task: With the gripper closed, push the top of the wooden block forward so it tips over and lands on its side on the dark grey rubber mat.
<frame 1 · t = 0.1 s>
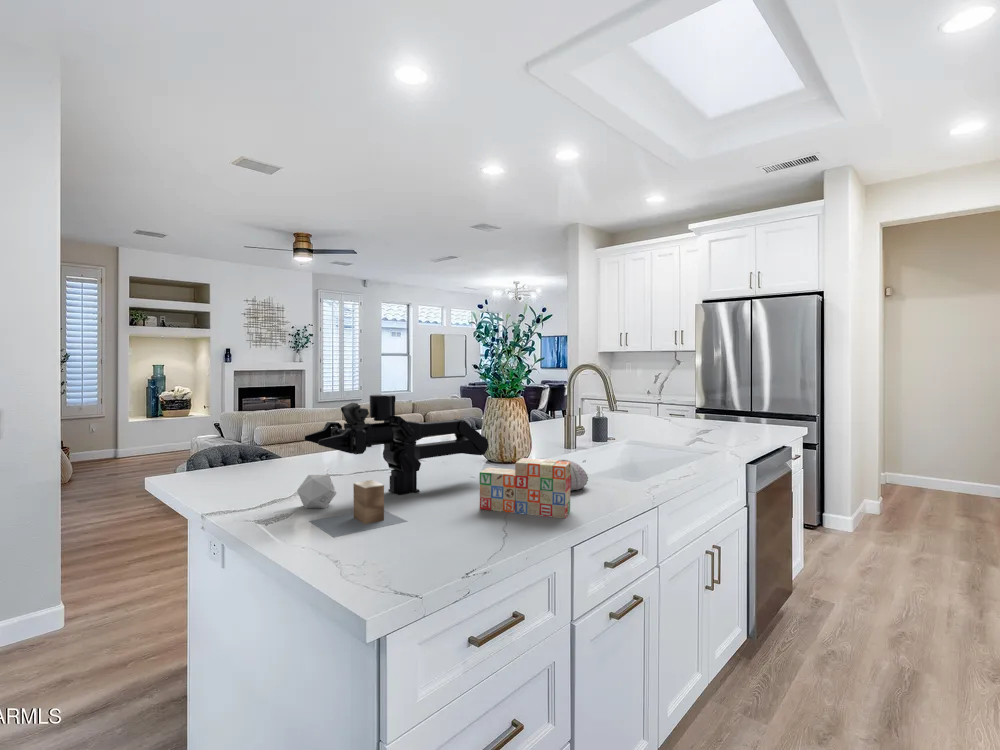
hand: (311, 440, 129), 17 cm above the worktop, tool horizontal, fingers open, 9 cm apart
rubber mat: (358, 522, 118), on the worktop
wooden block: (368, 518, 120), resting on rubber mat
die: (317, 507, 130), on the worktop
stack of blocks: (524, 511, 128), on the worktop
sea urchin shell: (563, 488, 151), on the worktop
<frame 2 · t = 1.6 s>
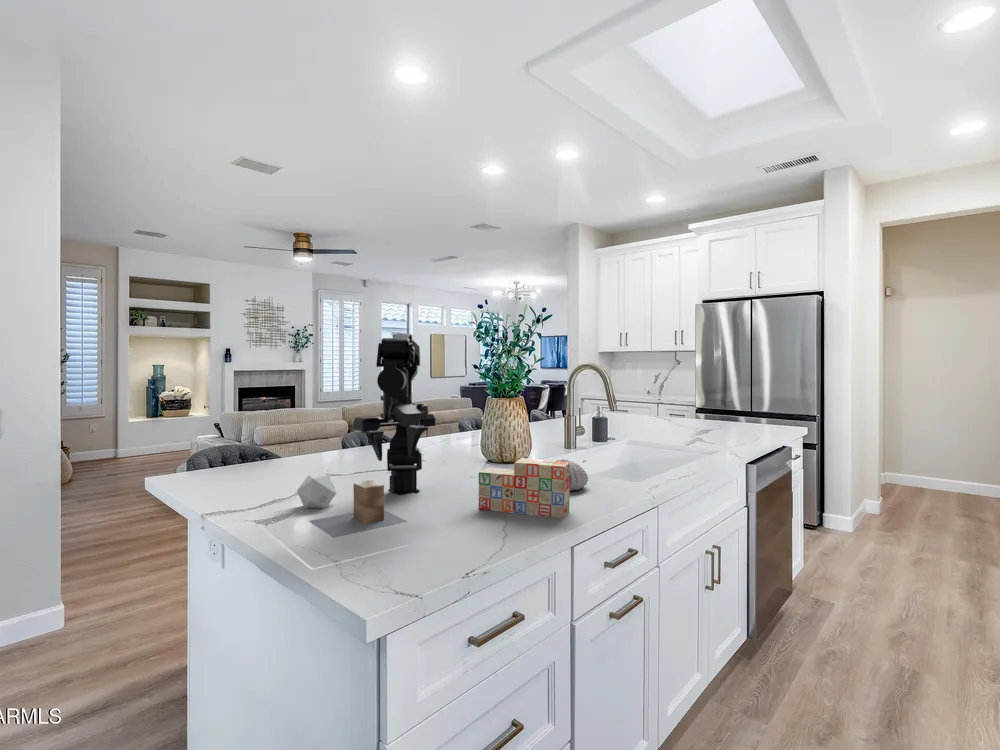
hand: (395, 458, 124), 13 cm above the worktop, tool pointing down, fingers open, 8 cm apart
nothing on the worktop moved.
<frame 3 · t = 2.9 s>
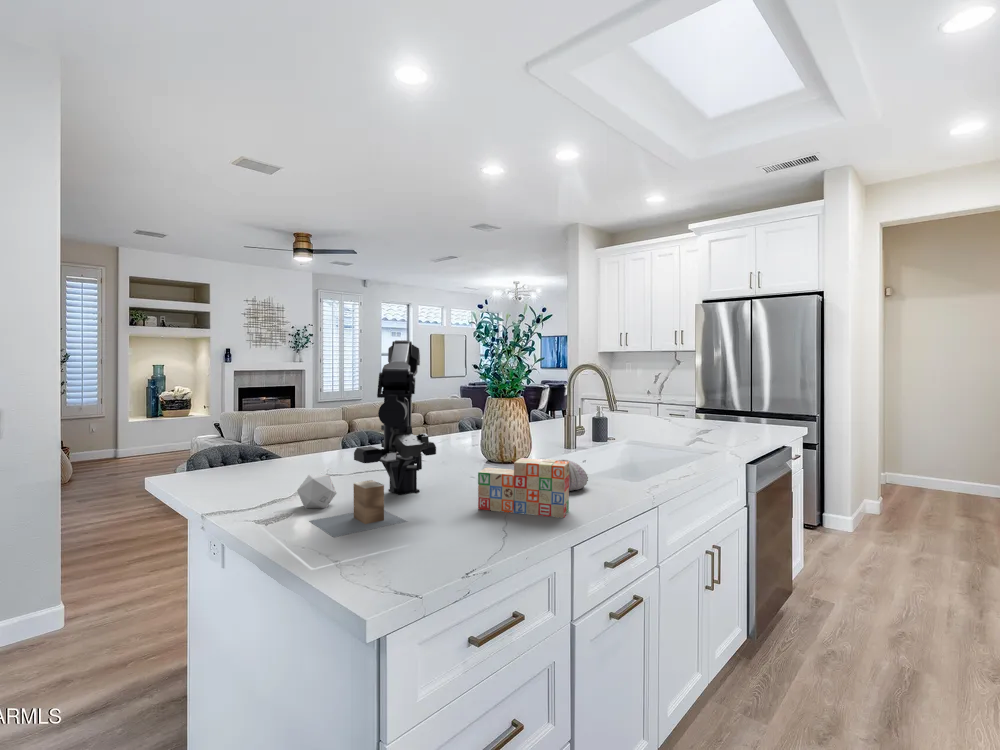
hand: (396, 488, 124), 6 cm above the worktop, tool pointing down, fingers closed
nothing on the worktop moved.
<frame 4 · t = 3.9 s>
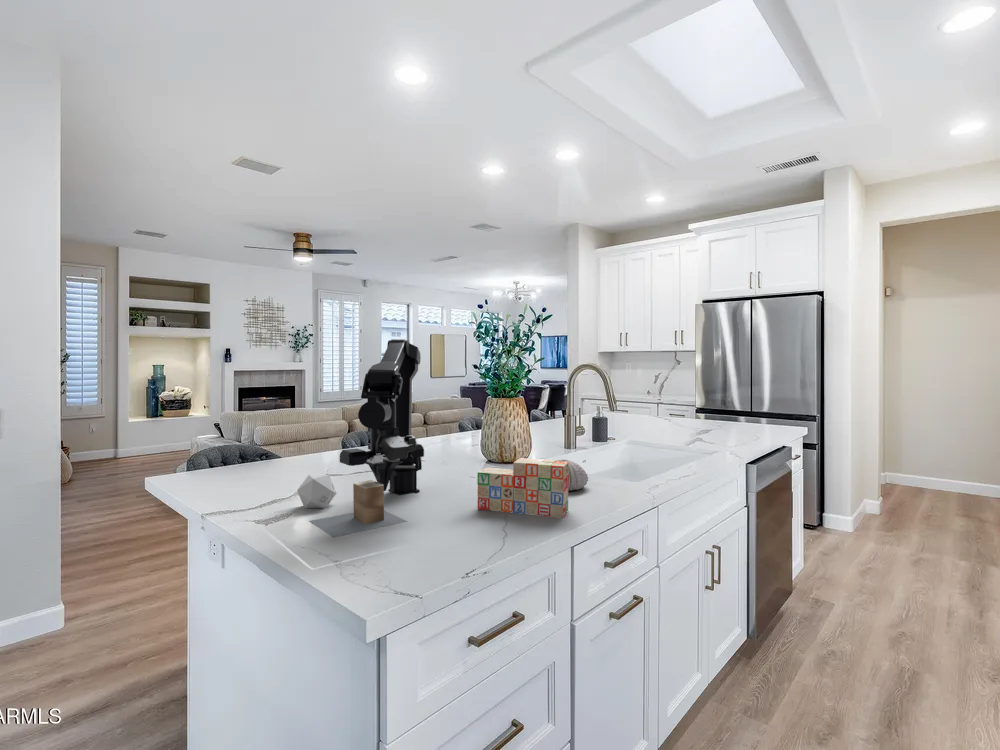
hand: (383, 490, 122), 6 cm above the worktop, tool pointing down, fingers closed
wooden block: (368, 518, 120), resting on rubber mat, touching gripper
everything else where it was.
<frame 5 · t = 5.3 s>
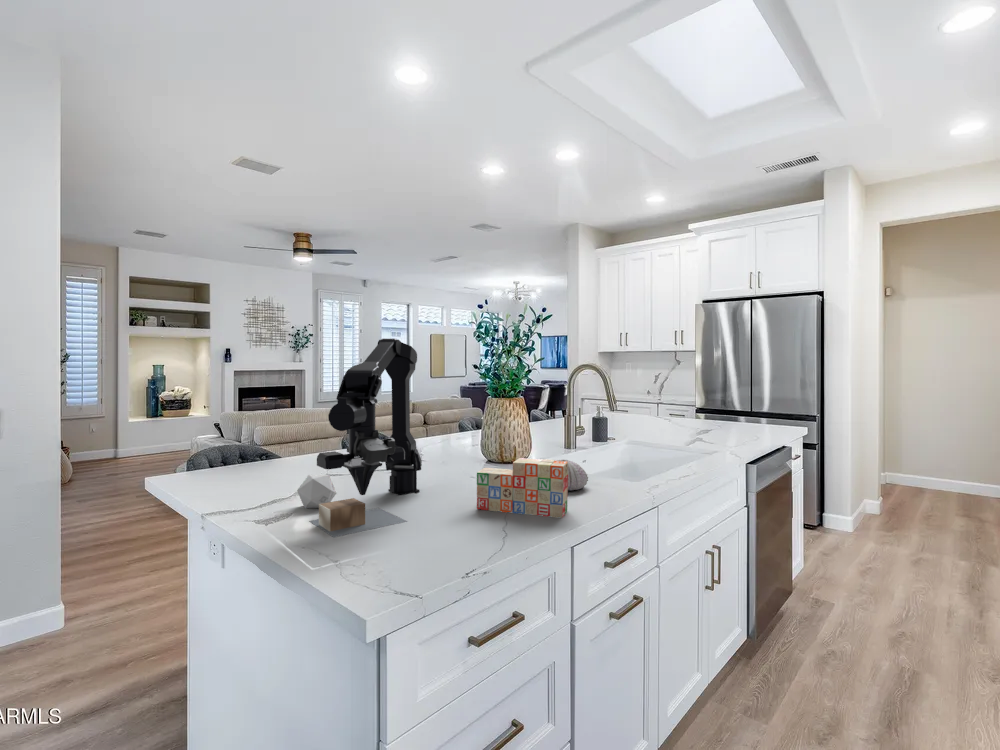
hand: (362, 494, 119), 6 cm above the worktop, tool pointing down, fingers closed
wooden block: (359, 510, 118), point 3 cm above the worktop, tilted 90°, touching rubber mat
everything else where it was.
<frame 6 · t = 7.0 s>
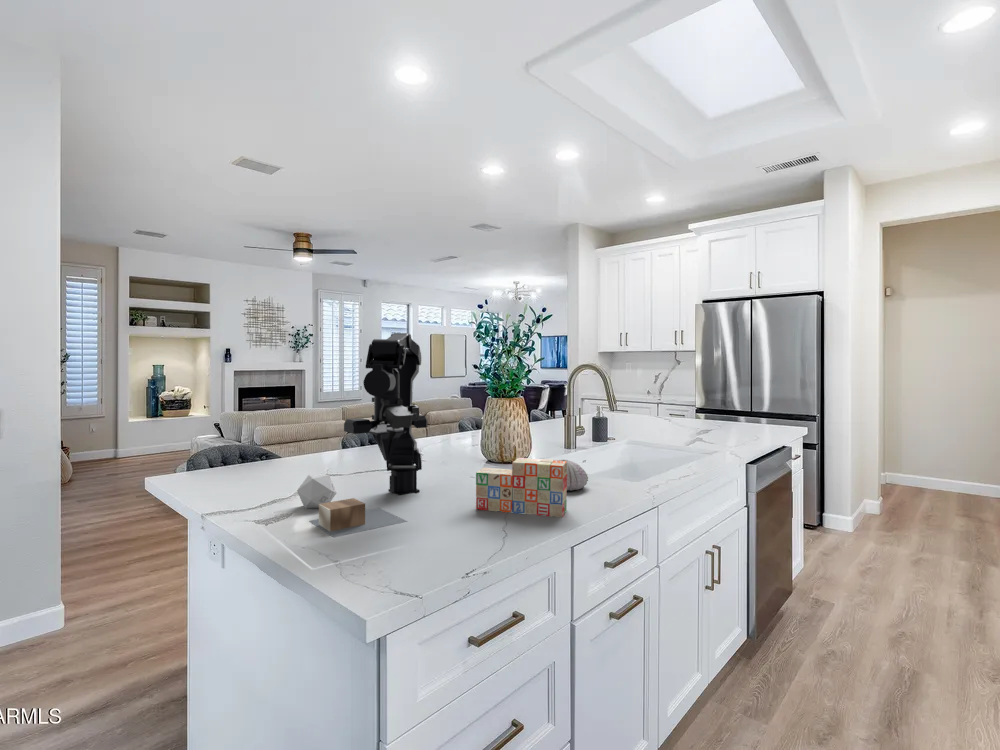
hand: (387, 460, 123), 13 cm above the worktop, tool pointing down, fingers closed
nothing on the worktop moved.
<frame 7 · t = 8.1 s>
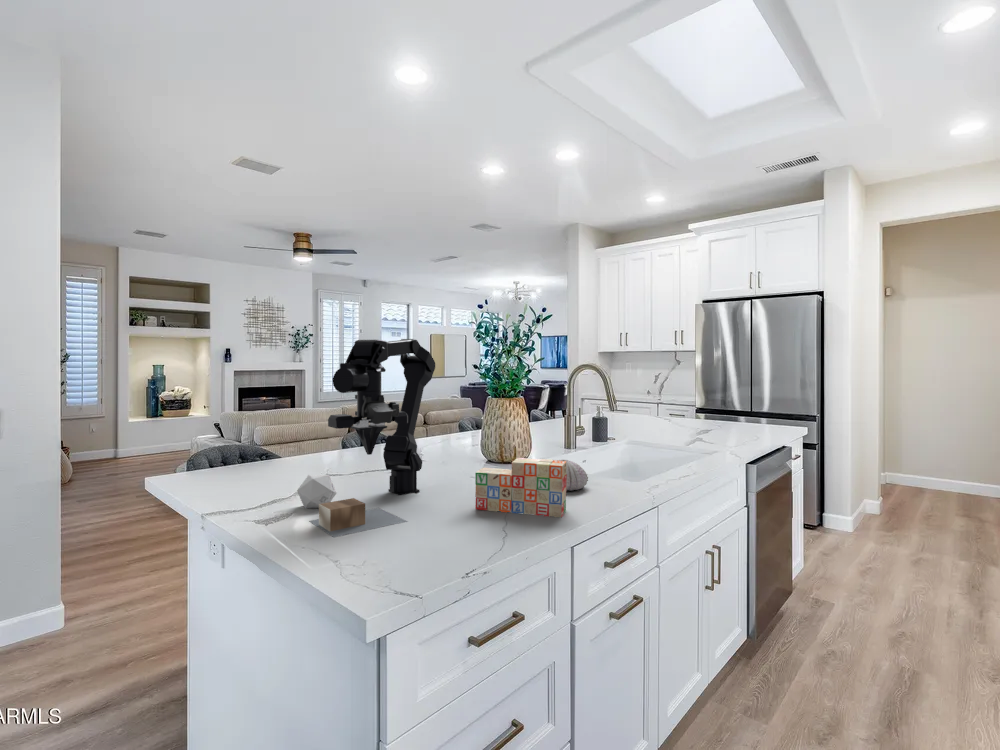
hand: (369, 454, 130), 13 cm above the worktop, tool pointing down, fingers closed
nothing on the worktop moved.
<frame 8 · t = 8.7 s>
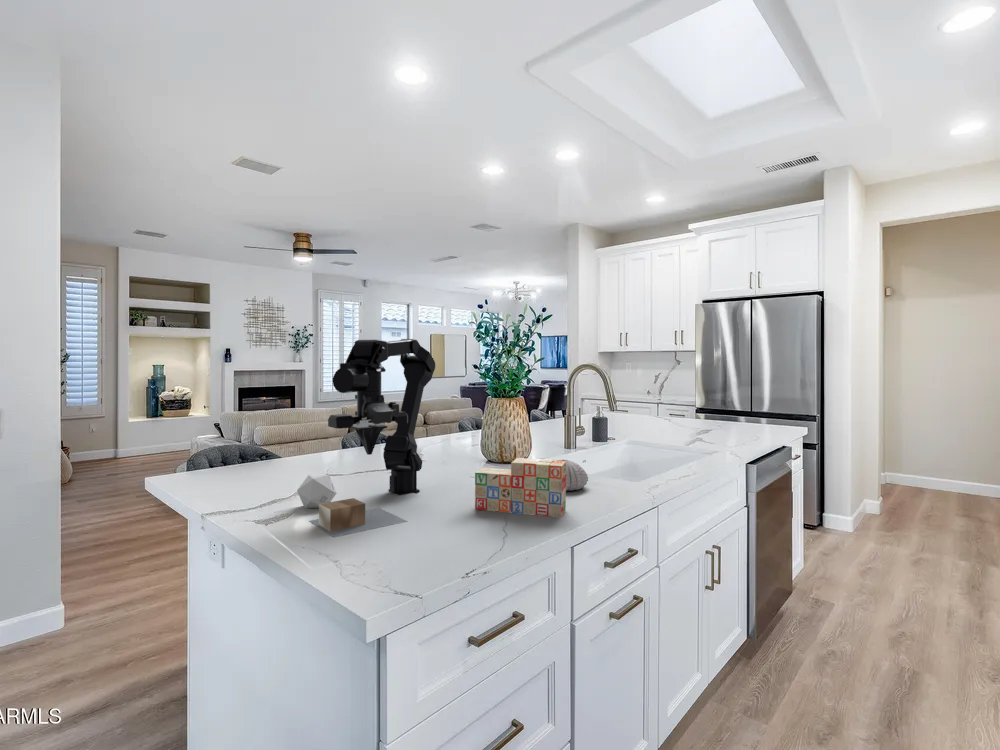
hand: (369, 454, 130), 13 cm above the worktop, tool pointing down, fingers closed
at the end: wooden block tilted 90°; wooden block inside the target area (3.3 cm from its centre), point 2.5 cm above the worktop; the gripper is holding nothing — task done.
